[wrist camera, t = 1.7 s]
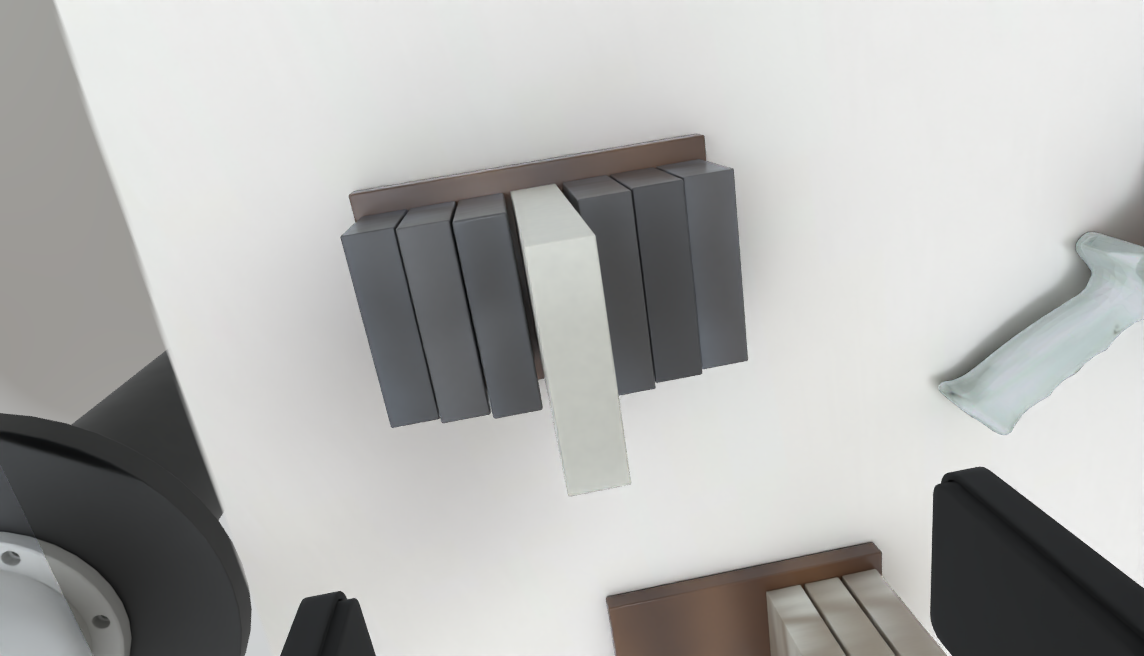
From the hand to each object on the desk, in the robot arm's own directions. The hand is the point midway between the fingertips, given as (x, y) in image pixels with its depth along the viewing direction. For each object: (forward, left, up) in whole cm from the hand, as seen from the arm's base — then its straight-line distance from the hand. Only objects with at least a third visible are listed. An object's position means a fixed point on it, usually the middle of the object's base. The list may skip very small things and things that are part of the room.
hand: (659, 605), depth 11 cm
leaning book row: (+8, -24, -23) cm, 34 cm away
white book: (0, 0, -22) cm, 22 cm away
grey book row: (0, 0, -23) cm, 23 cm away
